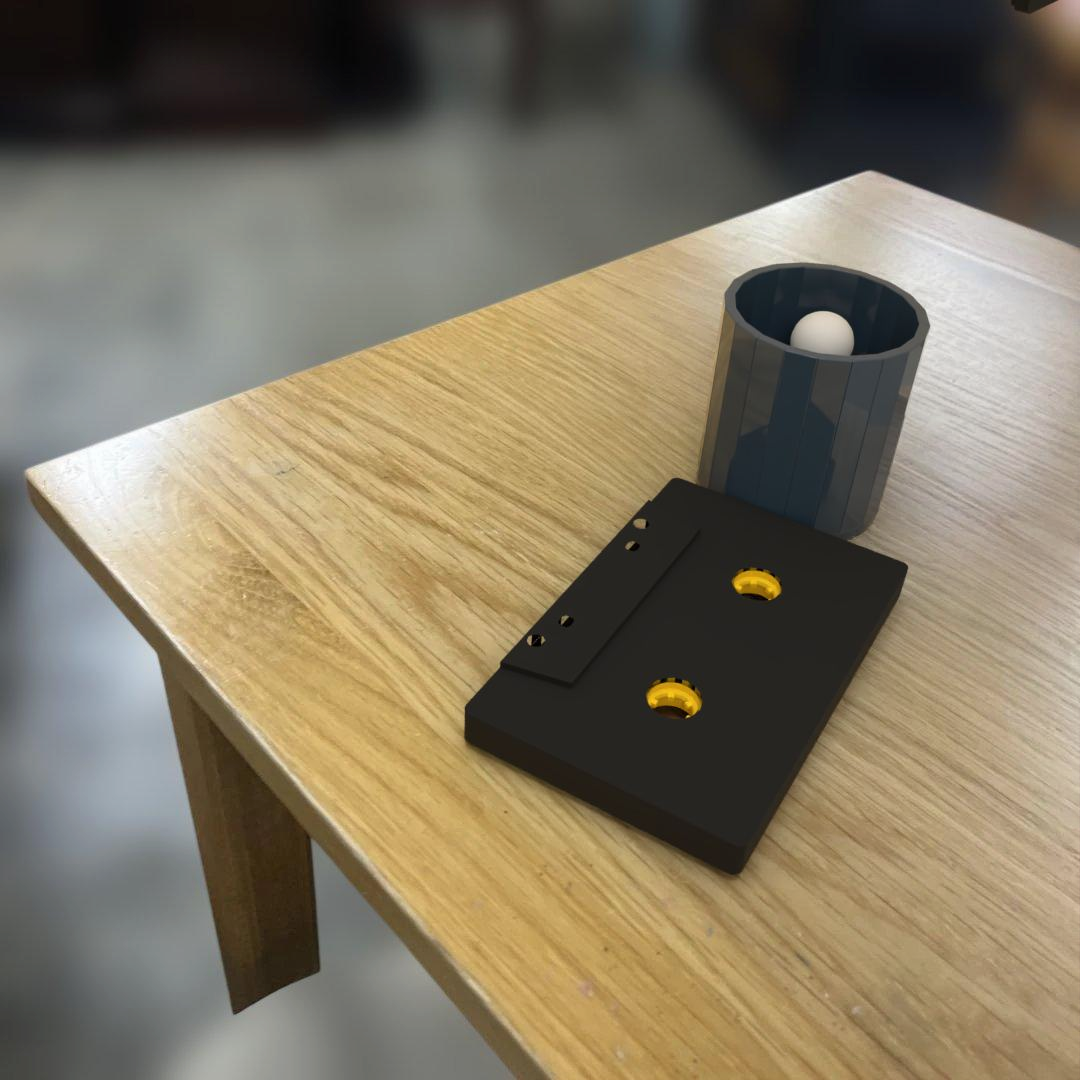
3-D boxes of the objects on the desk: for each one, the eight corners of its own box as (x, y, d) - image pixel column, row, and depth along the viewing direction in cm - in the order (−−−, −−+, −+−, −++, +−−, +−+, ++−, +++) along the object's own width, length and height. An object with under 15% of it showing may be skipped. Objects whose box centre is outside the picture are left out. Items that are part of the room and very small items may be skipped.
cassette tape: (669, 507, 59) (675, 470, 58) (900, 596, 55) (912, 559, 53) (460, 743, 47) (460, 704, 45) (736, 883, 42) (745, 844, 41)
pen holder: (761, 417, 66) (794, 244, 59) (912, 489, 61) (965, 310, 55) (659, 488, 60) (684, 306, 54) (817, 572, 56) (864, 384, 49)
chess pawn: (725, 487, 60) (754, 322, 54) (763, 438, 63) (794, 279, 57) (823, 522, 58) (864, 355, 52) (857, 470, 61) (899, 308, 55)
